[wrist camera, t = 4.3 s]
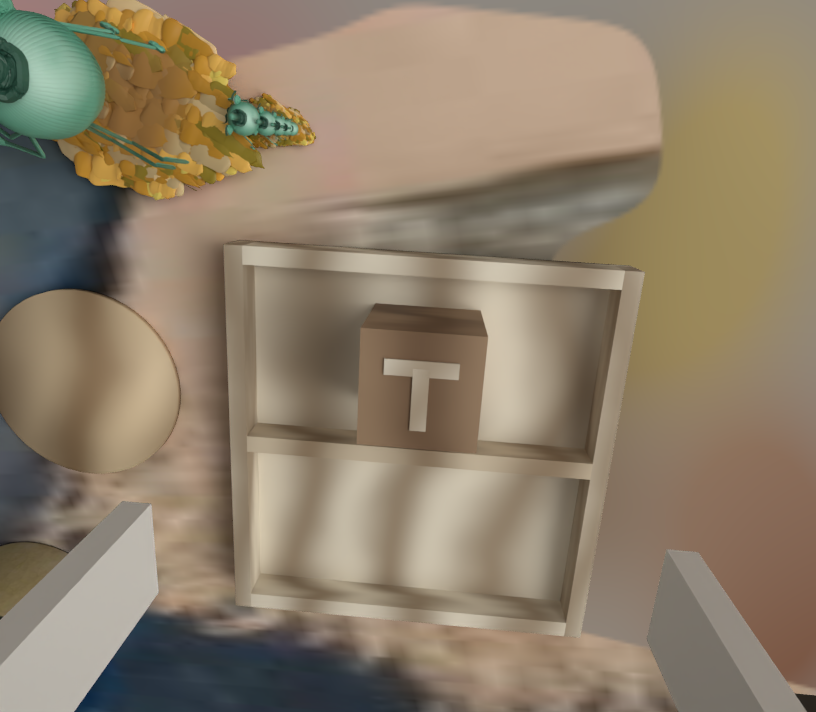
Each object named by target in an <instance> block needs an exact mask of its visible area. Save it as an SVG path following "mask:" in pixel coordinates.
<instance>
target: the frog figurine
mask: <svg viewBox="0 0 816 712" xmlns="http://www.w3.org/2000/svg"><path fill="white" fill-rule="evenodd" d="M55 10H56V11H55V12H56V13H55V20H54V19H52V18H49V17H47V16H44V15H42V14H38V13H34V12H29V11H21V10H16V9H15V8H14V6H13V3H12V1H11V0H0V124H2V125H3V126H5V127H6V128H8V129H10V130H12V131H14V132H15V133H14V134H12V135H10V134H8V133H7V132H5V131H4V130H3V129H1V128H0V133H2V134H3V135H4V136H6V137H7V138H9V139H11V140H13V139H15V138H17V137H19V136H20V135H25V136H28V137H29V139H30V140H31V142H32V143H33V145H34V146H35V148H36V150H37V151H38V152H35V151H32V150H30V149H27V148H24V147H22V146H19V145H17V144H14V143H11V142H9V141H7V140H5V139H4V138H3V137H0V145H4V146H9V147H10V146H11V147H13V148H16V149H19V150H22V151H24V152H27V153H30V154H32V155H35V156H38V157H40V158H46V157H45V154H44V152H43V150H42V149H41V147H40V145H39V144H38V142H37V140H36V139H35V138H39V139H50V140H54V141H57V142H58V145H59V147H60V149H61V151H62V153H63V154H64V155H65V156H67V157H68V158H69V159H70V160H71V161H73V162H74V163H75V169H76V173H77V175H79V176H81V177H85V178H88V180H89V181H90V182H91V183H92V184H94V185H97V186H102V185H116V186H119V187H124V188H126V187H130V188H132V189H133V190H135V191H136V192H138V193H139V194H142V195H147V196H150V197H154V199H155V200H158V199H164V198H166V199H169V198H173V197H175V195H176V196H178V197H179V196H182V195H183V193H184V183H185V184H188V185H192V186H196V187H198V188H200V187H199V186H202V185H205V182H207V183H209V184H214V183H215V181H216V180H217V181H221V180H222V179H223V178H224V175H225V176H230V175H235V174H236V173H237V170H238V171H240V172H242V173H246V172H248V171H252V170H251V168H250V165H251V166H254V167H260V168H264V167H263V166H262V158H261V155H260V153H259V152H258V151H257V150H256V149H255V148H254V147H253V145H254V146H255V147H257V148H258V147H259V146H260V147H263V148H264V149H268V147H267V146H269V147H272V148H275V147H276V146H277V145H278V146H284V147H285V146H286V145H287V146H288V145H291V146H292V145H298V146H302V145H304V146H306V145H310V144H312V143H314V140H315V139H316V136H315V133H314V132H313V133H312V130H311V129H310V127H309V124H308V122H307V121H306V120H305V119H304V118H303V117H302V115H300V111H298V110H297V109H293V108H291V107H289V108H288V109H287V108H286V107H284V106H283V105H281V104H280V103H278V102H277V101H276V100H274V99H273V98H272V97H271V95H268V94H265V93H263V94H262V96H263V97H261V98H260V97H256V98H255V99H253V98H250V101H251V102H252V103H249V102H248V100H241V99H240V97H239V96H238V95H236V94H235V93H236V91H233V90H232V89H231V88H230V87H229V86H228V79H231V78H232V77H233V76H234V75H236V65H235V64H234V63H231V62H228V61H226V60H224V59H223V58H222V57H220V56H218V55H217V49H216V48H215V46H214V45H213V44H211V43H210V42H209V41H207V40H205V39H204V38H202V37H201V36H199V35H198V34H196V33H195V32H194V31H192V30H191V29H190V28H188V27H186V26H185V25H183V24H181V23H180V22H178V21H177V20H175V19H172V18H170V17H168V16H167V15H164V17H163V16H162V15H161V14H159V13H158V12H156V11H155V10H153V9H151V8H150V7H148V6H146V5H144V4H142V3H140V2H138V1H136V0H108V1H107V3H106V5H105V4H104V3H102V2H100V1H99V0H88V2H85V1H84V0H78V1H74V2H73V3H72V8H70V7H69V6H68V5H67V4H65V3H63V4H62V5H61V6H60V7H59V8H58V9H55ZM244 101H247V102H244ZM264 169H265V168H264ZM197 185H198V186H197ZM186 186H187V185H186ZM188 187H189V186H188ZM192 189H193V188H192ZM193 190H195V189H193ZM195 191H197V190H195Z"/></svg>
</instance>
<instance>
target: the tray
mask: <svg viewBox="0 0 816 712" xmlns="http://www.w3.org/2000/svg"><path fill="white" fill-rule="evenodd" d="M223 250H224V278H225V307H226V336H227V364H228V393H229V422H230V451H231V479H232V508H233V537H234V565H235V594H236V605H239V606H249V607H260V608H271V609H281V610H292V611H302V612H313V613H324V614H334V615H345V616H355V617H366V618H377V619H387V620H398V621H409V622H419V623H430V624H440V625H451V626H462V627H472V628H483V629H493V630H504V631H515V632H525V633H536V634H546V635H557V636H568V637H578V638H580V635H581V630H582V623H583V618H584V613H585V607H586V601H587V596H588V590H589V585H590V579H591V573H592V568H593V562H594V556H595V551H596V544H597V539H598V534H599V528H600V522H601V517H602V511H603V506H604V500H605V494H606V489H607V483H608V477H609V471H610V466H611V460H612V455H613V449H614V443H615V438H616V432H617V426H618V421H619V415H620V410H621V404H622V397H623V392H624V387H625V381H626V376H627V370H628V364H629V359H630V353H631V347H632V342H633V336H634V330H635V325H636V319H637V313H638V308H639V302H640V297H641V291H642V285H643V280H644V274H645V272H643V271H641V270H639V269H636V268H634V267H631V266H626V265H610V264H595V263H581V262H564V261H550V260H535V259H519V258H504V257H489V256H474V255H458V254H443V253H428V252H412V251H397V250H382V249H367V248H351V247H336V246H321V245H305V244H290V243H275V242H260V241H244V240H238V241H235V242H231V243H227V244H223ZM375 303H380V304H395V305H409V306H423V307H438V308H452V309H466V310H481V314H482V317H483V321H484V324H485V328H486V331H487V335H488V344H487V354H486V364H485V373H484V383H483V393H482V403H481V413H480V423H479V433H478V442H477V452H476V454H474V453H462V452H449V451H437V450H425V449H412V448H400V447H387V446H375V445H363V444H357V415H358V386H359V358H360V329H361V326H362V325H363V323H364V321H365V320H366V318H367V316H368V315H369V313H370V311H371V310H372V308H373V307H374V305H375Z"/></svg>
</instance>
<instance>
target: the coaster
mask: <svg viewBox="0 0 816 712" xmlns="http://www.w3.org/2000/svg"><path fill="white" fill-rule="evenodd" d="M180 403H181V390H180V382H179V377H178V373H177V369H176V366H175V363H174V361H173V358H172V356H171V354H170V352H169V350H168V348H167V347H166V345H165V343H164V342H163V340H162V339H161V337H160V336H159V335H158V333H157V332H156V331H155V330H154V329H153V327H152V326H151V325H150V324H149V323H148V322H147V321H146V320H145V319H143V318H142V317H141V316H140V315H139V314H138V313H136V312H135V311H134V310H132V309H131V308H129V307H128V306H126V305H125V304H123V303H121V302H119V301H117V300H115V299H113V298H111V297H108V296H106V295H103V294H100V293H96V292H93V291H88V290H81V289H59V290H52V291H48V292H44V293H41V294H37V295H34V296H32V297H30V298H28V299H26V300H24V301H22V302H21V303H19V304H18V305H16V306H15V307H13V308H12V309H11V310H10V311H9V312H8V313H7V314H6V315H5V317H4V318H3V319H2V320H1V322H0V412H1V414H2V416H3V417H4V419H5V420H6V422H7V424H8V425H9V426H10V427H11V429H12V430H13V431H14V432H15V434H16V435H17V436H18V437H19V438H20V439H21V440H22V441H23V442H24V443H25V444H27V445H28V446H29V447H30V448H31V449H33V450H34V451H35V452H37V453H38V454H40V455H41V456H43V457H44V458H46V459H48V460H50V461H52V462H54V463H56V464H58V465H61V466H63V467H66V468H68V469H72V470H76V471H80V472H87V473H101V474H104V473H114V472H119V471H123V470H127V469H129V468H132V467H135V466H137V465H139V464H140V463H142V462H144V461H146V460H147V459H148V458H149V457H151V456H152V455H153V454H154V453H156V452H157V451H158V450H159V449H160V448H161V447H162V445H163V444H164V443H165V442H166V441H167V439H168V438H169V436H170V435H171V433H172V431H173V429H174V427H175V425H176V421H177V418H178V415H179V409H180Z"/></svg>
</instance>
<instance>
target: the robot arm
mask: <svg viewBox="0 0 816 712" xmlns="http://www.w3.org/2000/svg"><path fill="white" fill-rule="evenodd" d="M158 593H159V591H158V579H157V567H156V555H155V543H154V531H153V519H152V507H151V504H148V503H137V502H126V501H122V502H121V503H120V504H119V505H118V506H117V507H116V508H115V509H114V510H113V511H112V512H111V513H110V514H109V515H108V516H107V517H106V518H105V519H104V520H103V521H102V522H101V523H100V524H98V525H97V526H96V527H95V528H94V529H93V530H92V531H91V532H90V533H89V534H88V535H87V536H86V537H85V538H84V539H83V540H82V541H81V542H80V543H79V544H78V545H77V546H76V547H75V548H74V549H73V550H72V551H71V552H70V553H69V554H68V555H67V556H65V557H64V558H63V559H62V560H61V561H60V562H59V563H58V564H57V565H56V566H55V567H54V568H53V569H52V570H51V571H50V572H49V573H48V574H47V575H46V576H45V577H44V578H43V579H42V580H41V581H40V582H39V583H38V584H37V585H36V586H35V587H34V588H32V589H31V590H30V591H29V592H28V593H27V594H26V595H25V596H24V597H23V598H22V599H21V600H20V601H19V602H18V603H17V604H16V605H15V606H14V607H13V608H12V609H11V610H10V611H9V612H8V613H7V614H6V615H5V616H0V712H74V711H75V710H76V708H77V707H78V705H79V704H80V702H81V701H82V700H83V698H84V697H85V695H86V694H87V693H88V691H89V690H90V688H91V687H92V686H93V684H94V683H95V681H96V680H97V679H98V677H99V676H100V674H101V673H102V672H103V670H104V669H105V667H106V666H107V665H108V663H109V662H110V660H111V659H112V657H113V656H114V655H115V653H116V652H117V650H118V649H119V648H120V646H121V645H122V643H123V642H124V641H125V639H126V638H127V636H128V635H129V634H130V632H131V631H132V629H133V628H134V627H135V625H136V624H137V622H138V621H139V619H140V618H141V617H142V615H143V614H144V612H145V611H146V610H147V608H148V607H149V605H150V604H151V603H152V601H153V600H154V598H155V597H156V596H157V594H158ZM647 641H648V644H649V646H650V648H651V651H652V653H653V655H654V657H655V660H656V662H657V664H658V667H659V669H660V671H661V673H662V676H663V678H664V680H665V682H666V685H667V687H668V689H669V692H670V694H671V696H672V698H673V701H674V703H675V705H676V708H677V710H678V712H816V696H815V695H804V694H795V693H794V692H793V691H792V689H791V688H790V686H789V685H788V683H787V682H786V680H785V679H784V677H783V676H782V674H781V673H780V672H779V670H778V669H777V667H776V666H775V664H774V663H773V661H772V660H771V658H770V657H769V655H768V654H767V653H766V651H765V650H764V648H763V647H762V645H761V644H760V642H759V641H758V639H757V638H756V636H755V635H754V633H753V632H752V631H751V629H750V628H749V626H748V625H747V623H746V622H745V620H744V619H743V617H742V616H741V615H740V613H739V612H738V610H737V609H736V607H735V606H734V604H733V603H732V601H731V600H730V598H729V597H728V595H727V594H726V593H725V591H724V590H723V588H722V587H721V585H720V584H719V582H718V581H717V579H716V578H715V577H714V575H713V573H712V572H711V571H710V569H709V568H708V566H707V565H706V563H705V562H704V560H703V559H702V558H701V556H700V554H699V553H698V552H689V551H677V550H666V554H665V559H664V564H663V568H662V573H661V577H660V582H659V586H658V591H657V595H656V600H655V604H654V609H653V613H652V618H651V623H650V627H649V632H648V636H647Z"/></svg>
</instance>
